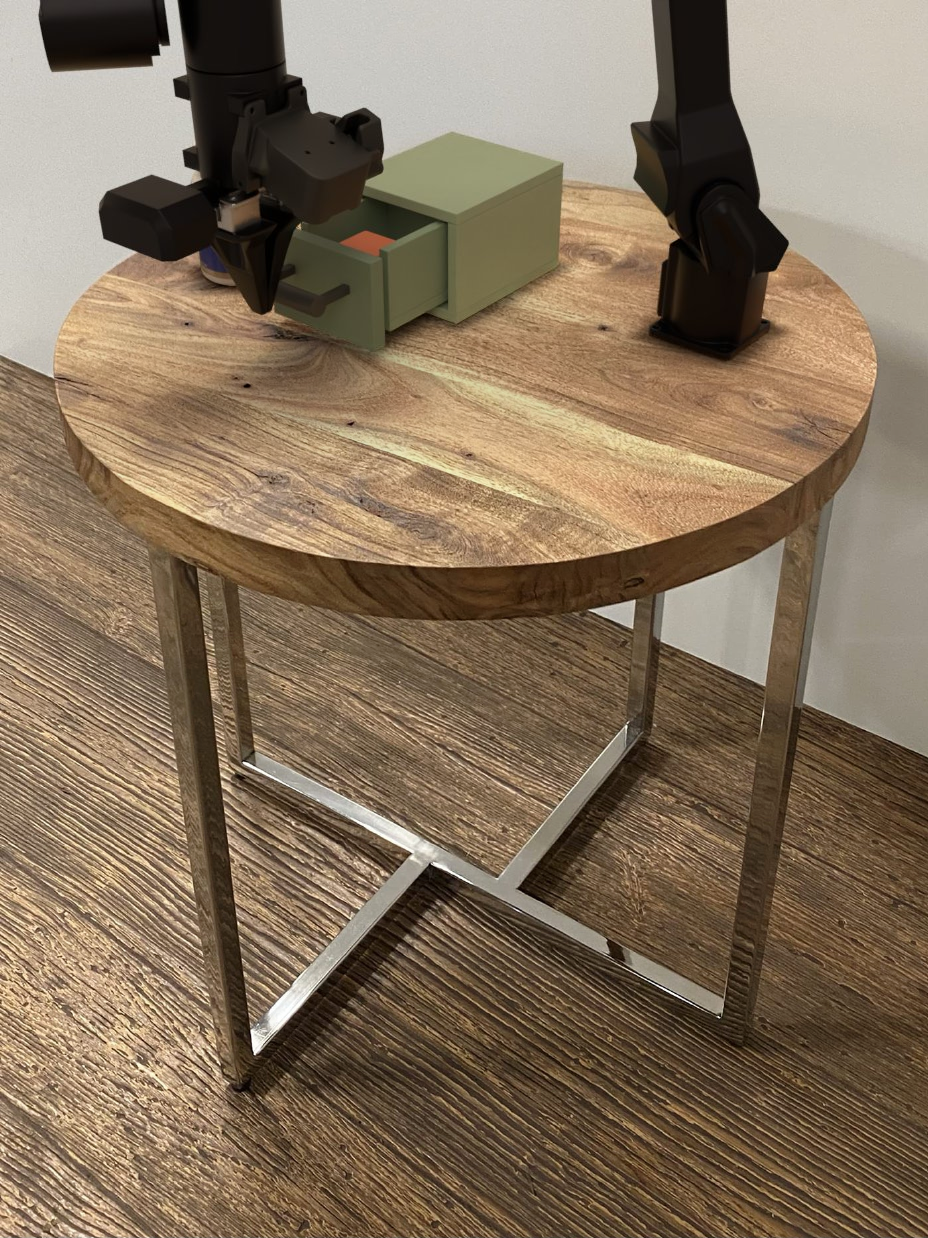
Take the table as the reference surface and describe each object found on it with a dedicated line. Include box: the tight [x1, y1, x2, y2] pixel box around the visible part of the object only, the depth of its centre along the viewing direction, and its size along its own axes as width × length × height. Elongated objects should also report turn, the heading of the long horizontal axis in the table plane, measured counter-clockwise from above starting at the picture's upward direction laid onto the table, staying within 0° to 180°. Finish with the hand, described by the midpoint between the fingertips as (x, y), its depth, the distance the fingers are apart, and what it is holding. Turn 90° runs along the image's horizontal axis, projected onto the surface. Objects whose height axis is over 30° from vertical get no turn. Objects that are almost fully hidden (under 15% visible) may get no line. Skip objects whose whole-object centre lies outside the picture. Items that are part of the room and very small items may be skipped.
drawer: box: [273, 195, 448, 353], centre depth 91 cm, size 15×9×6 cm, turn 142°
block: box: [340, 231, 395, 257], centre depth 91 cm, size 4×4×4 cm
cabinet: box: [363, 131, 564, 325], centre depth 97 cm, size 13×11×8 cm
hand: (261, 311), depth 85 cm, fingers closed
